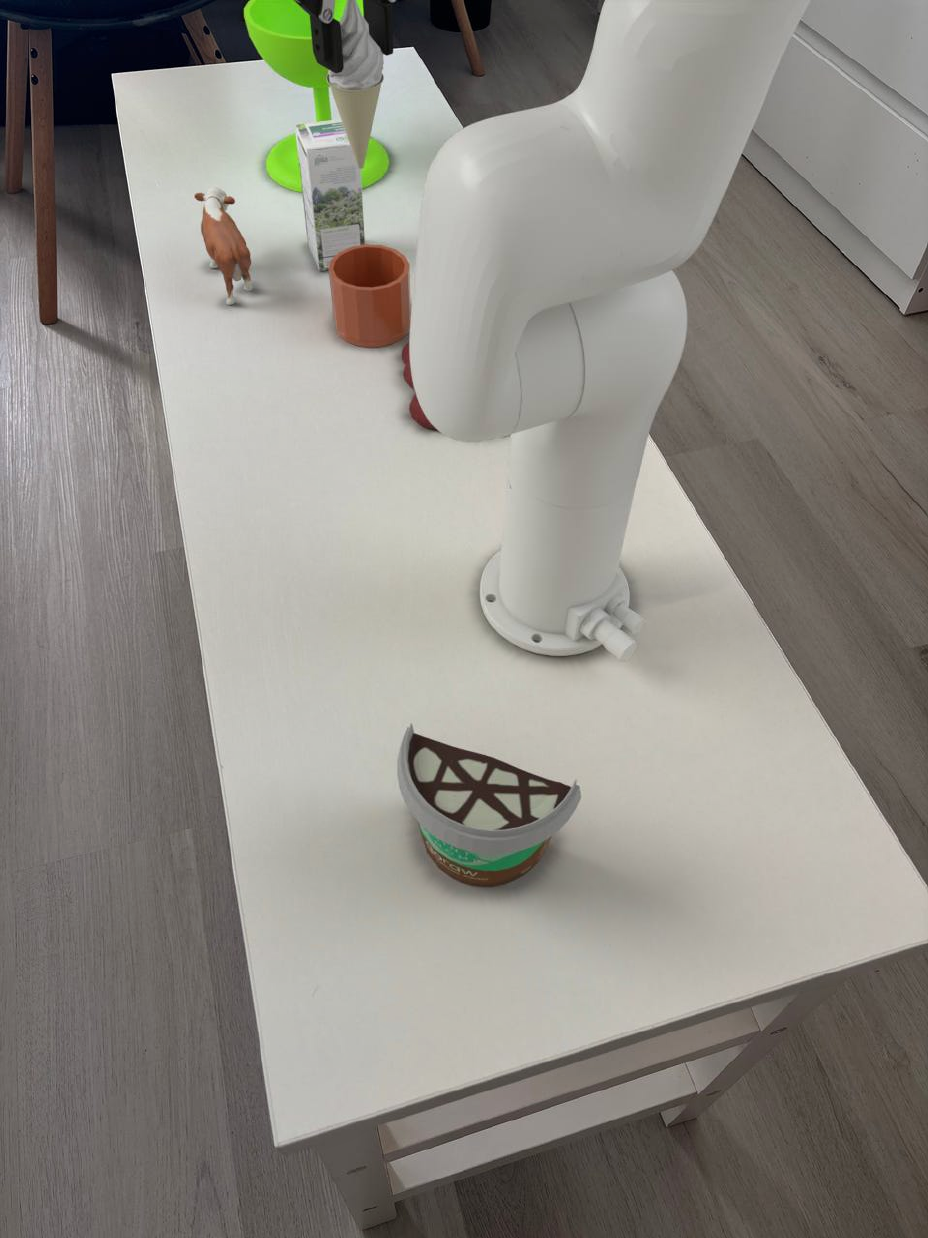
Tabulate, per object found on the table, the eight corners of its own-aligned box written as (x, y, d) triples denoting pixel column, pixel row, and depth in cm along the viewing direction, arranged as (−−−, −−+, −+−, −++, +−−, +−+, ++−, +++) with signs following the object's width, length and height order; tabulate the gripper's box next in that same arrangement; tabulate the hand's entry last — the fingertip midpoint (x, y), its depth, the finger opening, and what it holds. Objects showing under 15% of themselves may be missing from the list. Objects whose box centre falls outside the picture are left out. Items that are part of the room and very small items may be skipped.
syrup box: (354, 238, 116) (345, 114, 105) (367, 265, 113) (359, 140, 101) (307, 246, 115) (293, 121, 104) (319, 273, 112) (305, 147, 100)
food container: (372, 867, 68) (363, 799, 60) (407, 792, 72) (403, 720, 64) (541, 930, 65) (555, 869, 58) (568, 850, 69) (584, 782, 61)
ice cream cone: (380, 184, 90) (371, 3, 78) (327, 177, 91) (310, -4, 79) (393, 157, 93) (386, -21, 81) (342, 151, 94) (328, -27, 82)
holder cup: (426, 327, 106) (425, 269, 100) (366, 357, 102) (362, 299, 97) (378, 293, 110) (375, 235, 104) (319, 321, 106) (313, 263, 101)
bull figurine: (240, 243, 115) (228, 175, 109) (261, 308, 107) (250, 239, 101) (202, 248, 114) (188, 181, 108) (222, 314, 107) (208, 246, 100)
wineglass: (353, 122, 134) (343, -27, 120) (411, 174, 126) (408, 20, 111) (245, 150, 128) (221, -2, 114) (299, 207, 120) (279, 50, 106)
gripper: (268, -181, 65) (300, 103, 79) (460, -221, 72) (457, 46, 86) (206, -206, 68) (247, 70, 82) (396, -242, 75) (403, 18, 90)
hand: (354, 55), depth 84 cm, fingers closed on ice cream cone, 4 cm apart
